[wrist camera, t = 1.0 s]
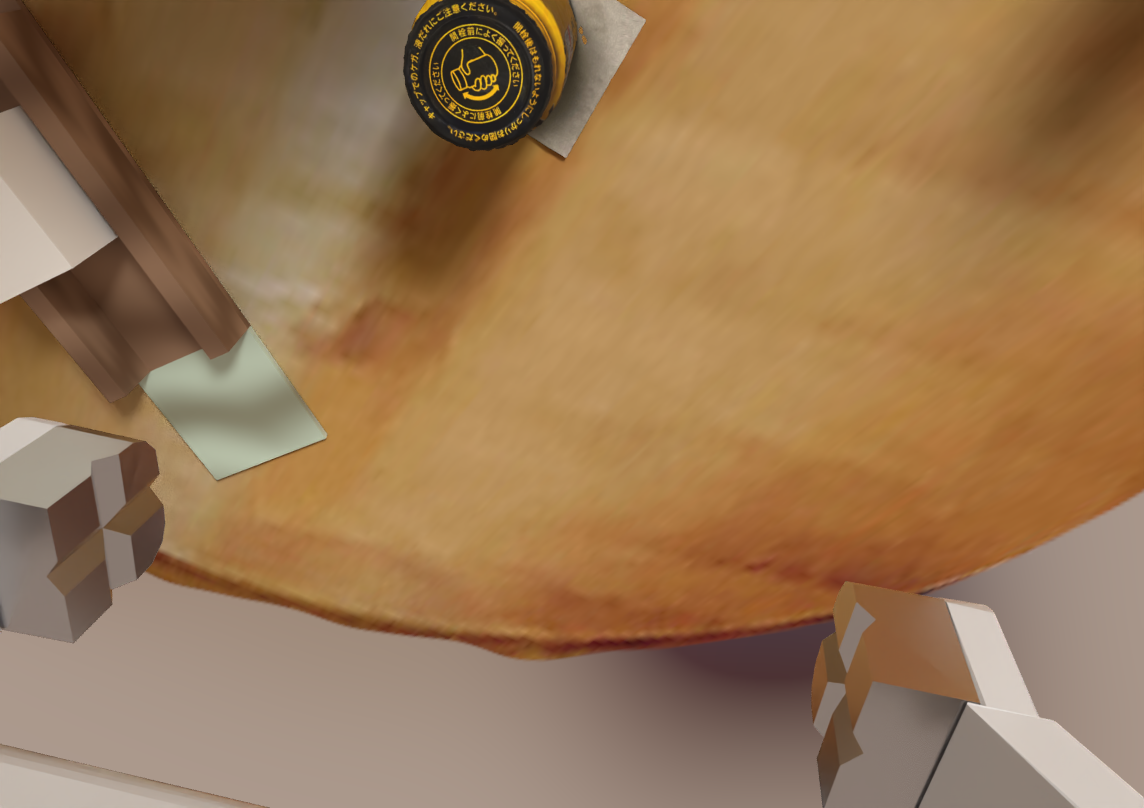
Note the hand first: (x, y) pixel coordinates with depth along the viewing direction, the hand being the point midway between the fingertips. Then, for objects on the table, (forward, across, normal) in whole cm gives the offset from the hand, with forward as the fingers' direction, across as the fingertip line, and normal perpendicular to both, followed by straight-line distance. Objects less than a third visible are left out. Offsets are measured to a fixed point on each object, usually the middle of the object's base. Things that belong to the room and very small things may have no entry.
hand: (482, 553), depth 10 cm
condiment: (+35, +7, -3) cm, 36 cm away
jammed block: (+31, +30, +7) cm, 44 cm away
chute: (+33, +28, +12) cm, 45 cm away
